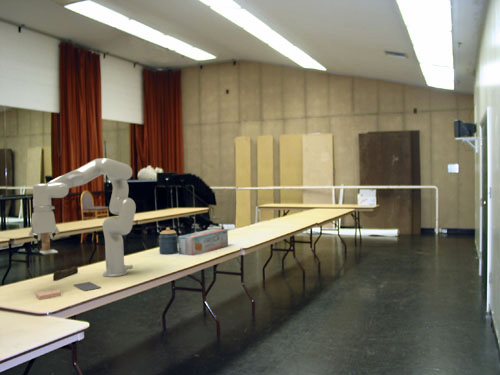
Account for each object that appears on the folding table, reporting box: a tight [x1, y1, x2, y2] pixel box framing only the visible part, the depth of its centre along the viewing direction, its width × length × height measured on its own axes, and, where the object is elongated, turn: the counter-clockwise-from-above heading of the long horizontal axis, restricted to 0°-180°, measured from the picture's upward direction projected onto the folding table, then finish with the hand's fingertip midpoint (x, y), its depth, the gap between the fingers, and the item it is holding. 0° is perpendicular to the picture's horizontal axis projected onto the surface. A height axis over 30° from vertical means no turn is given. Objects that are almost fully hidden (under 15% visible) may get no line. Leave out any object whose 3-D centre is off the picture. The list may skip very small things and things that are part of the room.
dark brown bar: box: [52, 266, 79, 281], centre depth 240 cm, size 19×4×5 cm, turn 165°
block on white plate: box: [39, 233, 59, 255], centre depth 207 cm, size 6×12×9 cm, turn 39°
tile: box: [34, 288, 62, 301], centre depth 200 cm, size 9×2×8 cm
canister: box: [158, 227, 179, 255], centre depth 305 cm, size 13×13×18 cm
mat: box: [73, 281, 102, 292], centre depth 216 cm, size 8×16×1 cm, turn 39°
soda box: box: [177, 228, 229, 256], centre depth 312 cm, size 41×14×13 cm, turn 148°
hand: (45, 247), depth 210 cm, fingers closed on block on white plate, 3 cm apart
